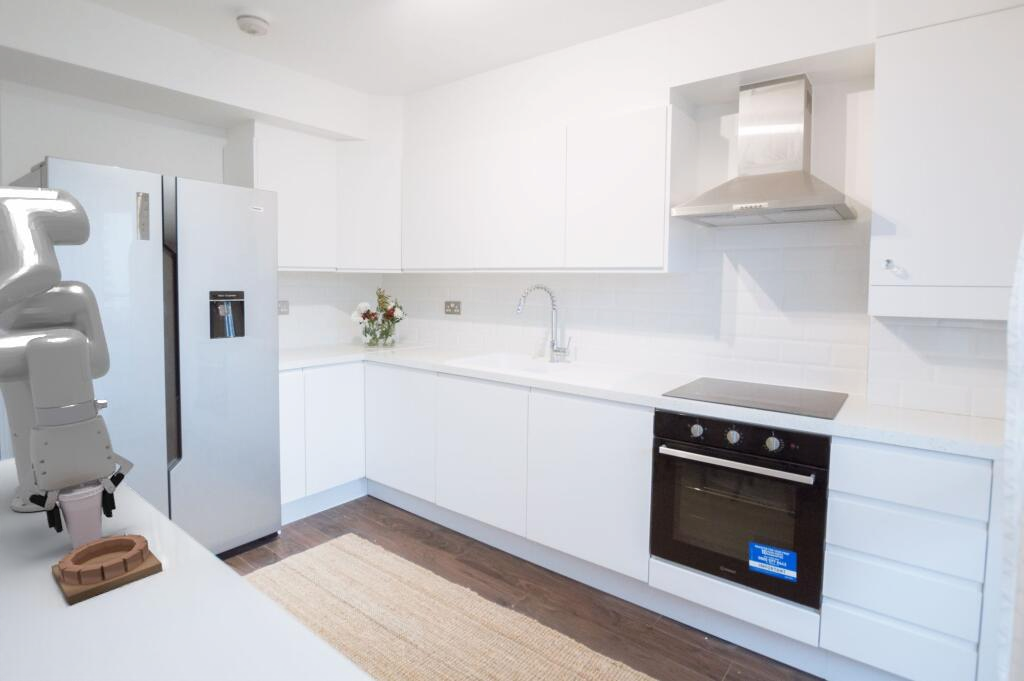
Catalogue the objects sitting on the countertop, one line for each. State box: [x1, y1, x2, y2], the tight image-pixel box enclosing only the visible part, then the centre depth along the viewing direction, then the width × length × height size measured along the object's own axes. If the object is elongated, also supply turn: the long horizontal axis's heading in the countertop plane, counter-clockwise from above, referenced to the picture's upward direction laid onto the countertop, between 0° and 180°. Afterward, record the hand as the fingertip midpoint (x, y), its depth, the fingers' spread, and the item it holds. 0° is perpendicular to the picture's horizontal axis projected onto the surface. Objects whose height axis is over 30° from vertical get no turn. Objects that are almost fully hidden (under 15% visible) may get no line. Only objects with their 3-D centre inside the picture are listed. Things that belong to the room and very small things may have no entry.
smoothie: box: [57, 480, 104, 550], centre depth 92 cm, size 6×6×14 cm
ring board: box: [51, 533, 163, 606], centre depth 84 cm, size 12×11×3 cm
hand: (83, 521), depth 92 cm, fingers closed on smoothie, 5 cm apart
